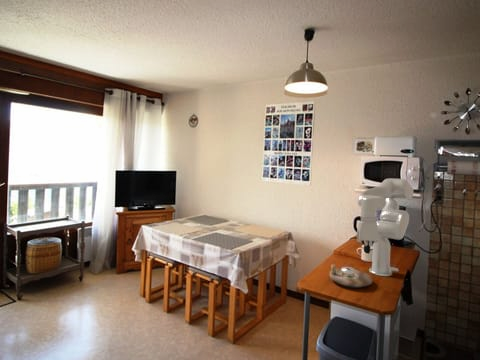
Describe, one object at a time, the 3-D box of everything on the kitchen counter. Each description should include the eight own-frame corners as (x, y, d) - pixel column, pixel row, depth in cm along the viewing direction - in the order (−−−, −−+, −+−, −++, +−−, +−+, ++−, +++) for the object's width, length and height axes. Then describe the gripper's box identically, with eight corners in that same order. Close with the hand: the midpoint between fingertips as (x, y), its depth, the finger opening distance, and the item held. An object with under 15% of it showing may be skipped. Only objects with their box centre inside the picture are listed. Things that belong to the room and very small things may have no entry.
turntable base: (362, 278, 168) (363, 274, 168) (368, 289, 153) (368, 285, 153) (333, 275, 172) (334, 271, 172) (336, 286, 156) (336, 282, 156)
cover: (353, 273, 165) (354, 267, 165) (355, 278, 158) (355, 271, 158) (340, 272, 167) (341, 266, 167) (341, 276, 160) (341, 270, 160)
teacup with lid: (376, 259, 202) (376, 242, 201) (374, 262, 194) (375, 245, 194) (357, 256, 208) (358, 240, 208) (355, 259, 201) (356, 242, 200)
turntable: (367, 273, 170) (368, 262, 170) (376, 288, 149) (376, 276, 149) (328, 269, 175) (328, 258, 175) (331, 284, 154) (331, 272, 154)
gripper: (379, 218, 162) (378, 251, 163) (351, 217, 163) (350, 250, 164) (385, 221, 154) (383, 255, 155) (356, 220, 156) (354, 254, 157)
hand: (366, 252), depth 160 cm, fingers closed
